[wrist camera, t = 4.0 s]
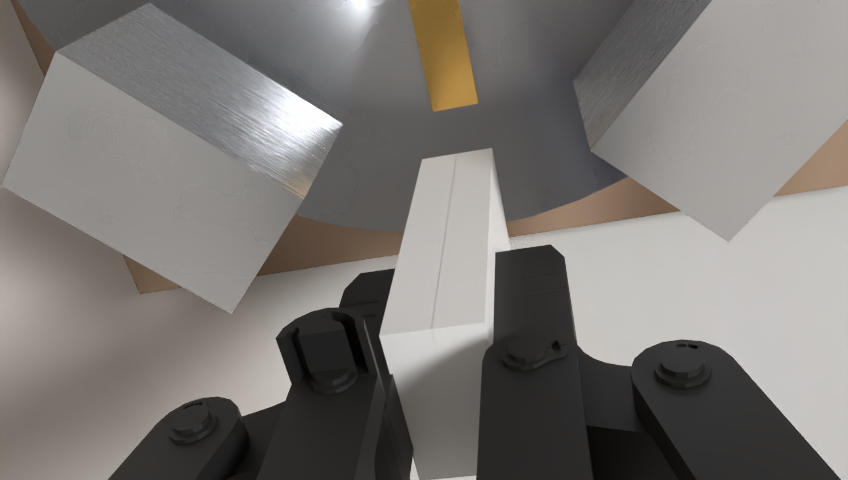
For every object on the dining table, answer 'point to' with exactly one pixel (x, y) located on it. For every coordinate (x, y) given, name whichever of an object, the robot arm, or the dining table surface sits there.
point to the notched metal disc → (410, 113)
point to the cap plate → (331, 244)
